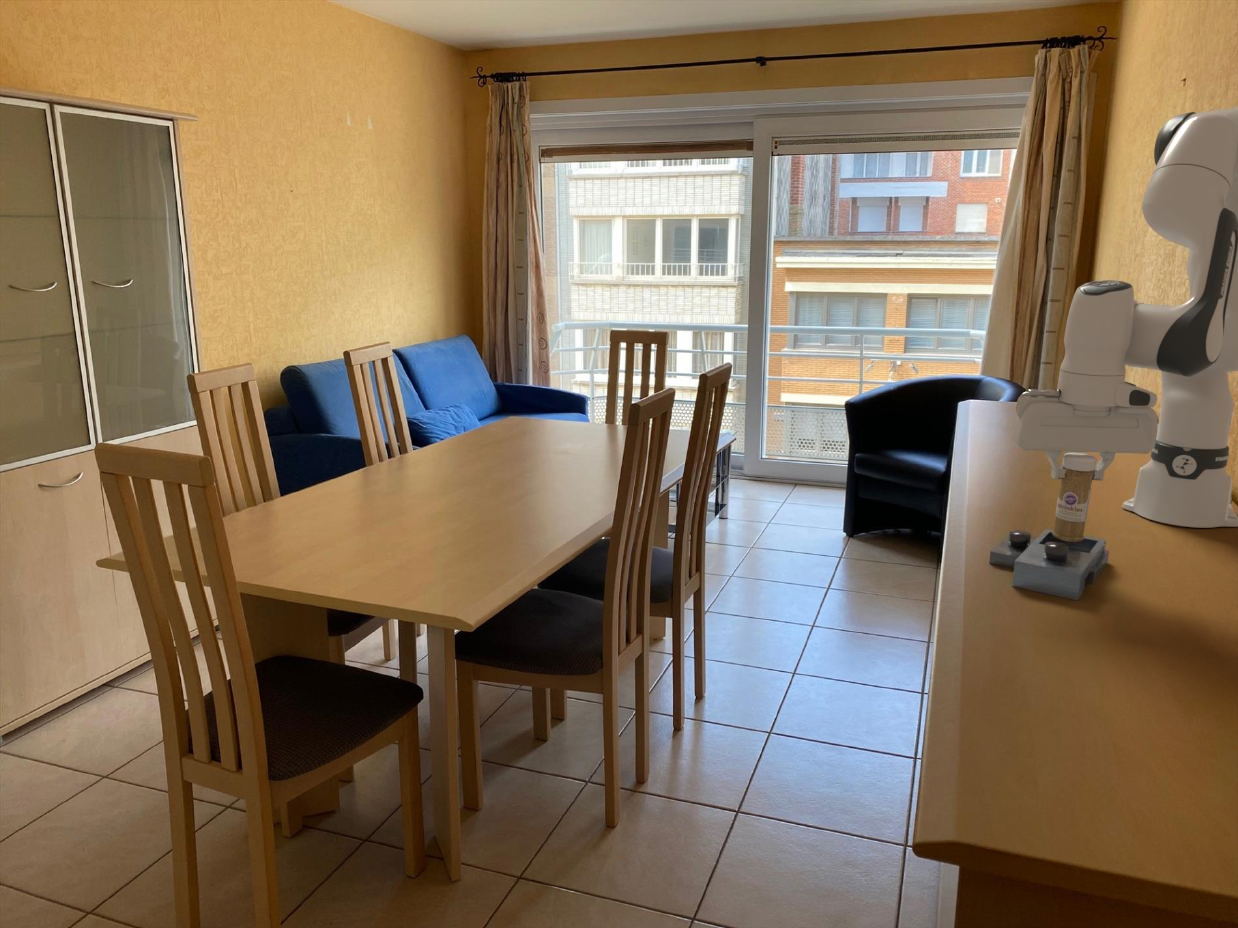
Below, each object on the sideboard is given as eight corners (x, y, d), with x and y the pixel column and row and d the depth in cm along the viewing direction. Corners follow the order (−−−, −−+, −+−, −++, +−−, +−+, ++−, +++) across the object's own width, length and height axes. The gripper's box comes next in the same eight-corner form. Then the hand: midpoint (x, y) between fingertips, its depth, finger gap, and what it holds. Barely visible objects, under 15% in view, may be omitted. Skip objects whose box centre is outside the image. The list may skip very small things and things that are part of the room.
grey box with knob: (1042, 551, 151) (1047, 517, 149) (1102, 563, 145) (1108, 527, 144) (1011, 585, 136) (1016, 548, 134) (1077, 600, 131) (1082, 561, 129)
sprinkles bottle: (1051, 540, 142) (1063, 457, 138) (1052, 531, 146) (1064, 450, 142) (1084, 544, 140) (1097, 460, 136) (1084, 535, 144) (1096, 453, 140)
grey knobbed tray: (1009, 543, 155) (1012, 521, 154) (1107, 562, 146) (1111, 538, 145) (989, 563, 145) (991, 539, 144) (1092, 584, 136) (1096, 559, 135)
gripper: (1026, 392, 135) (1014, 482, 138) (1169, 396, 133) (1154, 486, 137) (1011, 385, 141) (1000, 471, 144) (1148, 388, 139) (1134, 475, 143)
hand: (1076, 479), depth 140 cm, fingers closed on sprinkles bottle, 4 cm apart
